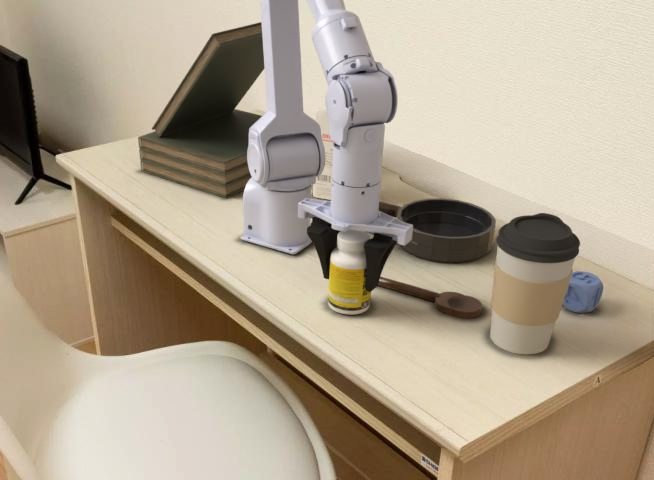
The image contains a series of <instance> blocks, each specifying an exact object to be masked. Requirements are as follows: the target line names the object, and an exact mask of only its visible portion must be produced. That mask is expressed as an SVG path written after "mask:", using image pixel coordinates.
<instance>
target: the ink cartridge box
mask: <svg viewBox="0 0 654 480" xmlns="http://www.w3.org/2000/svg"><path fill="white" fill-rule="evenodd" d="M315 121H316V122H317V123H318V124H319V125H320V128H321V136H322V142H323V145H324V148H325V156H326V160H325V167H324V169H323V171H322V173H321V175H320V176H318V177H316V184H312V196H313V198H316V199H322V200H326V201H331V184H332V162H333V140H331V139H330V133H329V119H328V115H327V110H326V108H325V109H324V108H317V109H316V110H315Z"/></svg>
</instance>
